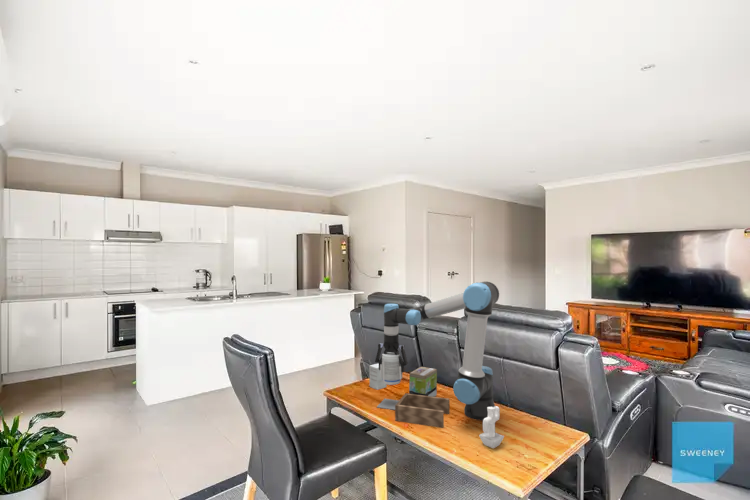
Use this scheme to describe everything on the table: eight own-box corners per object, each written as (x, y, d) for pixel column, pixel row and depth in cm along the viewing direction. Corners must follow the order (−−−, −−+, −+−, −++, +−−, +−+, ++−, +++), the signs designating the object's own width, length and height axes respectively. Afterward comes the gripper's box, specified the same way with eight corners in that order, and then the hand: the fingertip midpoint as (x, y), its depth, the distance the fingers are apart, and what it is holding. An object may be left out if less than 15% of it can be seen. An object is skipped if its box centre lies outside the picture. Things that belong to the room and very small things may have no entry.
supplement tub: (404, 383, 196) (404, 354, 196) (389, 386, 190) (389, 357, 191) (393, 378, 204) (393, 350, 204) (378, 381, 199) (378, 353, 199)
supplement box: (378, 384, 229) (378, 362, 229) (386, 387, 223) (386, 365, 224) (369, 386, 224) (369, 365, 225) (377, 390, 219) (377, 367, 219)
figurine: (477, 445, 154) (476, 407, 155) (490, 437, 160) (490, 401, 161) (492, 452, 149) (492, 413, 149) (506, 444, 155) (505, 407, 155)
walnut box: (449, 413, 186) (449, 398, 186) (443, 427, 170) (442, 412, 170) (405, 407, 194) (405, 393, 194) (395, 420, 178) (395, 405, 178)
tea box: (426, 404, 197) (425, 375, 198) (408, 400, 203) (408, 372, 203) (437, 395, 210) (437, 368, 210) (420, 392, 215) (420, 365, 216)
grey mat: (406, 402, 200) (406, 401, 200) (399, 410, 189) (399, 410, 189) (384, 399, 205) (384, 398, 205) (376, 407, 193) (376, 406, 193)
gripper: (414, 334, 197) (414, 377, 197) (373, 331, 205) (373, 373, 205) (410, 336, 190) (410, 382, 190) (368, 333, 198) (368, 377, 198)
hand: (391, 377), depth 197 cm, fingers closed on supplement tub, 10 cm apart
